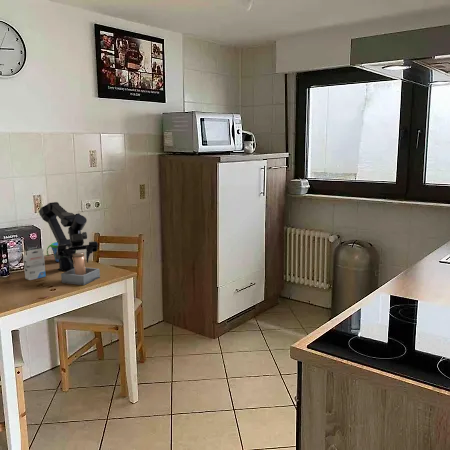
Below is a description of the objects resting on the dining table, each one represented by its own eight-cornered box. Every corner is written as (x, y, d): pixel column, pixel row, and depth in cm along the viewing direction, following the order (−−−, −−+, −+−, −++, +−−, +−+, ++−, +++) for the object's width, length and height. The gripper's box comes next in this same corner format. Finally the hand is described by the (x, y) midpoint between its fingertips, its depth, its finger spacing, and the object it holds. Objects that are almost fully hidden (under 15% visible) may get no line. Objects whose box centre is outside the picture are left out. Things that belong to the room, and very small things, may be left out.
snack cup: (46, 264, 249) (44, 246, 248) (49, 259, 259) (47, 241, 258) (75, 262, 253) (74, 244, 251) (77, 257, 263) (76, 240, 261)
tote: (61, 282, 215) (61, 273, 215) (78, 275, 227) (78, 266, 226) (84, 285, 211) (83, 276, 210) (100, 277, 223) (99, 268, 222)
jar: (73, 279, 217) (70, 255, 215) (77, 276, 222) (75, 252, 220) (84, 279, 216) (81, 254, 214) (88, 276, 221) (85, 252, 219)
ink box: (41, 274, 229) (39, 246, 226) (46, 276, 226) (43, 247, 223) (24, 278, 223) (21, 249, 220) (28, 280, 220) (26, 251, 217)
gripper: (55, 228, 214) (60, 256, 206) (96, 225, 222) (101, 251, 214) (55, 241, 222) (59, 269, 215) (94, 237, 230) (99, 264, 223)
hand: (80, 263), depth 216 cm, fingers open, 6 cm apart
